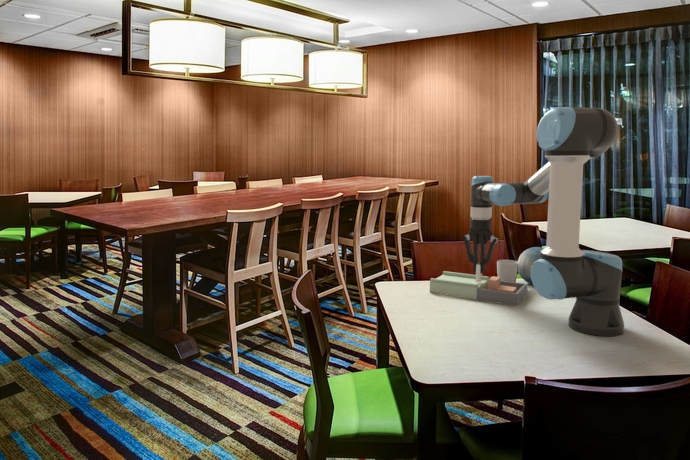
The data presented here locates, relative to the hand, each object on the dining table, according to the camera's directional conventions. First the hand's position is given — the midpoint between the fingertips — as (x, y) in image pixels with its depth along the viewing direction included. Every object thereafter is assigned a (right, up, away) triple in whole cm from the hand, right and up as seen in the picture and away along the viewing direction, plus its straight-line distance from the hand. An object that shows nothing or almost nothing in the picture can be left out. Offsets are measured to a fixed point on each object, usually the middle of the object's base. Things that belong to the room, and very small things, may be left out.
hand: (478, 281), depth 193 cm
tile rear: (+4, -2, -2) cm, 4 cm away
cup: (+14, -3, +10) cm, 17 cm away
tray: (+8, -5, -4) cm, 10 cm away
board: (-6, -4, +5) cm, 9 cm away
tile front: (+9, -2, -5) cm, 10 cm away
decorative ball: (+26, -3, +14) cm, 30 cm away
